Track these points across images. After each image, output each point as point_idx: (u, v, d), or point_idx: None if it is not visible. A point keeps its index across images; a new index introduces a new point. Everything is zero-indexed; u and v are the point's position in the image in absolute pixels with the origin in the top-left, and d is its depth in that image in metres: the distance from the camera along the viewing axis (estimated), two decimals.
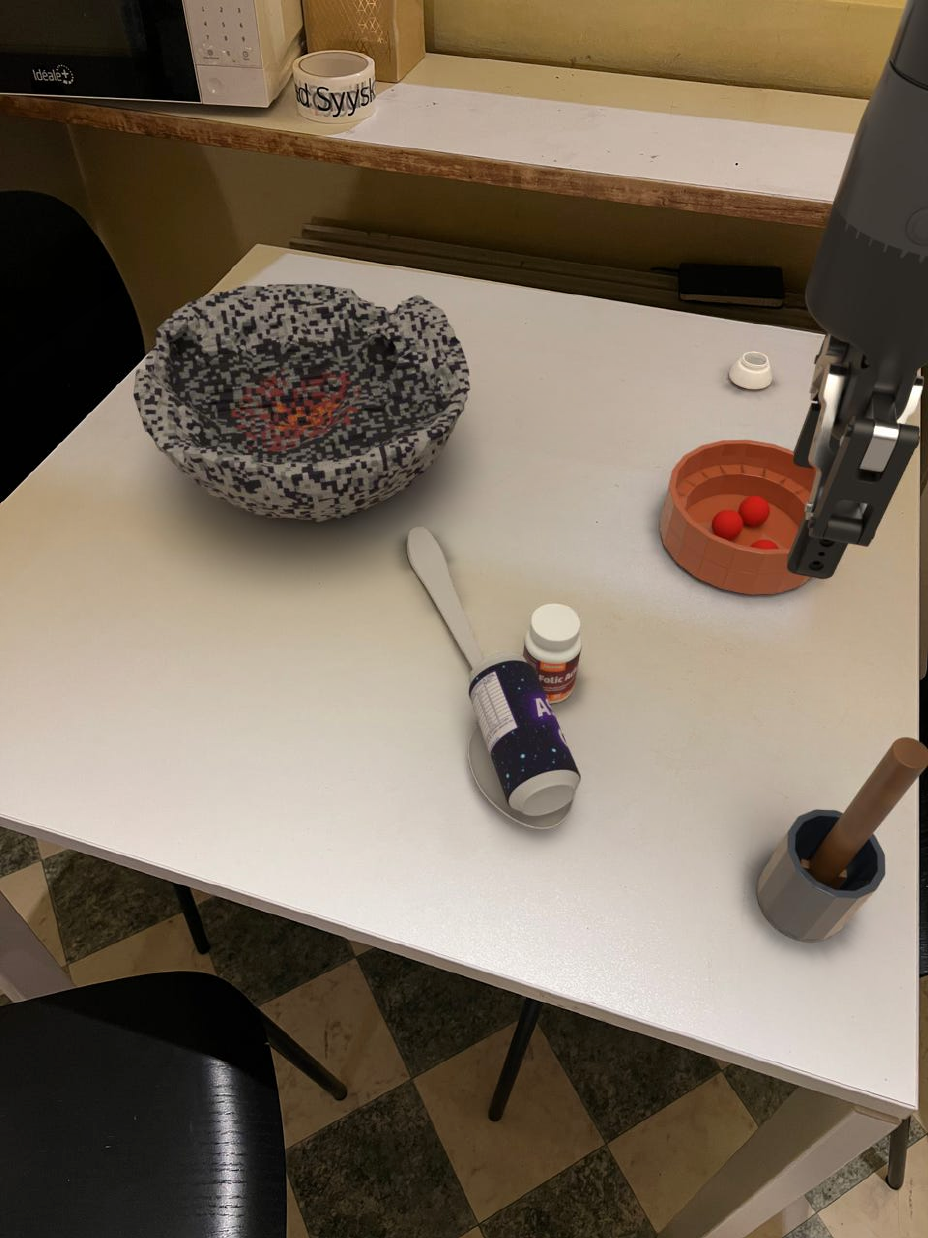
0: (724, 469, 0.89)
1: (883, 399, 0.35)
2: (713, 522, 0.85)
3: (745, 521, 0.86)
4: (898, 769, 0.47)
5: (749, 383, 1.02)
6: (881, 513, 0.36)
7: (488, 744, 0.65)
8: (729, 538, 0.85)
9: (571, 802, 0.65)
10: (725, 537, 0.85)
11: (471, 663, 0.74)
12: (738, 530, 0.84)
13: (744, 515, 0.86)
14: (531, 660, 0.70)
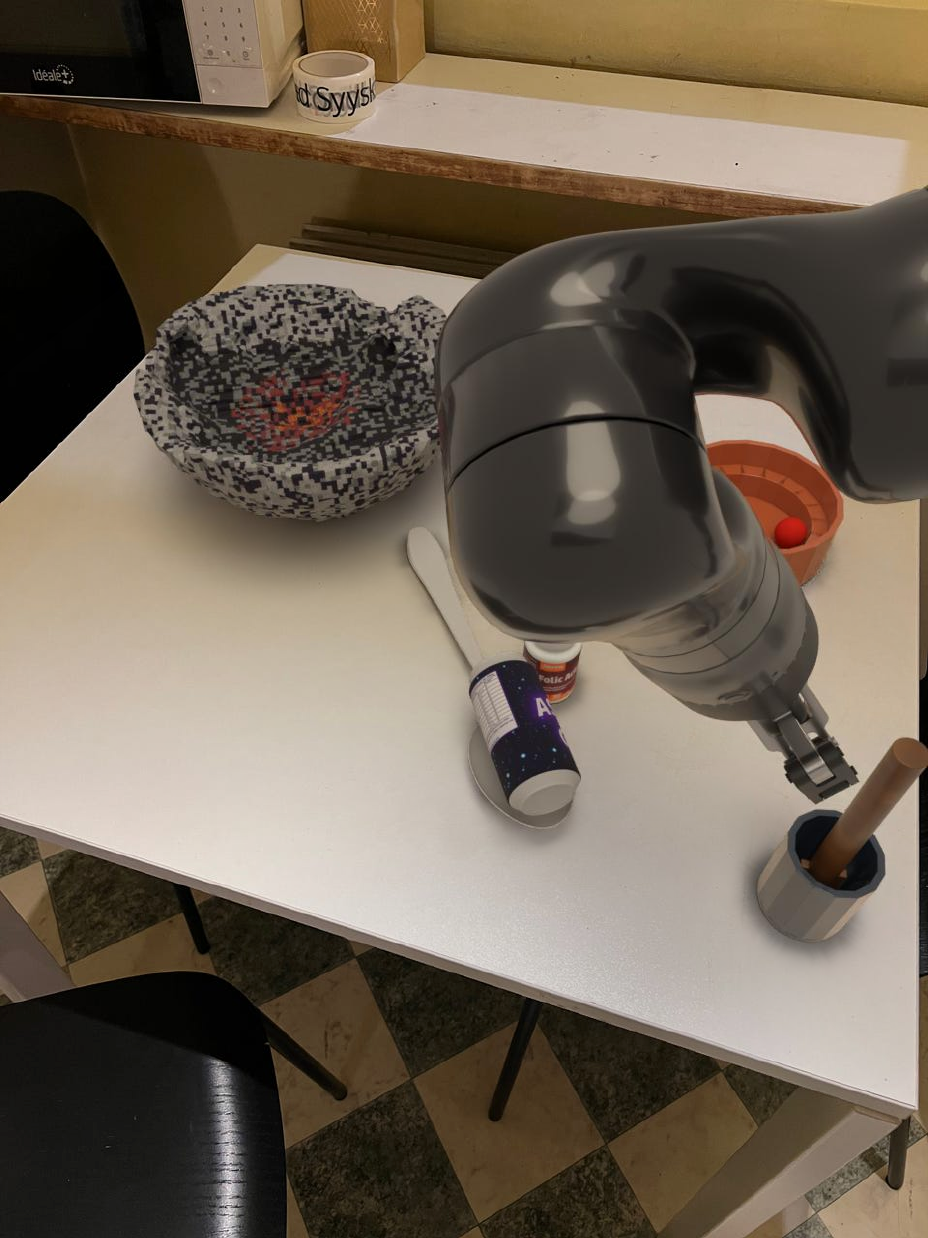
0: (724, 469, 0.89)
1: (789, 725, 0.40)
2: None
3: (781, 535, 0.84)
4: (898, 769, 0.47)
5: None
6: (853, 777, 0.41)
7: (488, 744, 0.65)
8: None
9: (571, 802, 0.65)
10: None
11: (471, 663, 0.74)
12: None
13: (784, 542, 0.84)
14: (531, 660, 0.70)
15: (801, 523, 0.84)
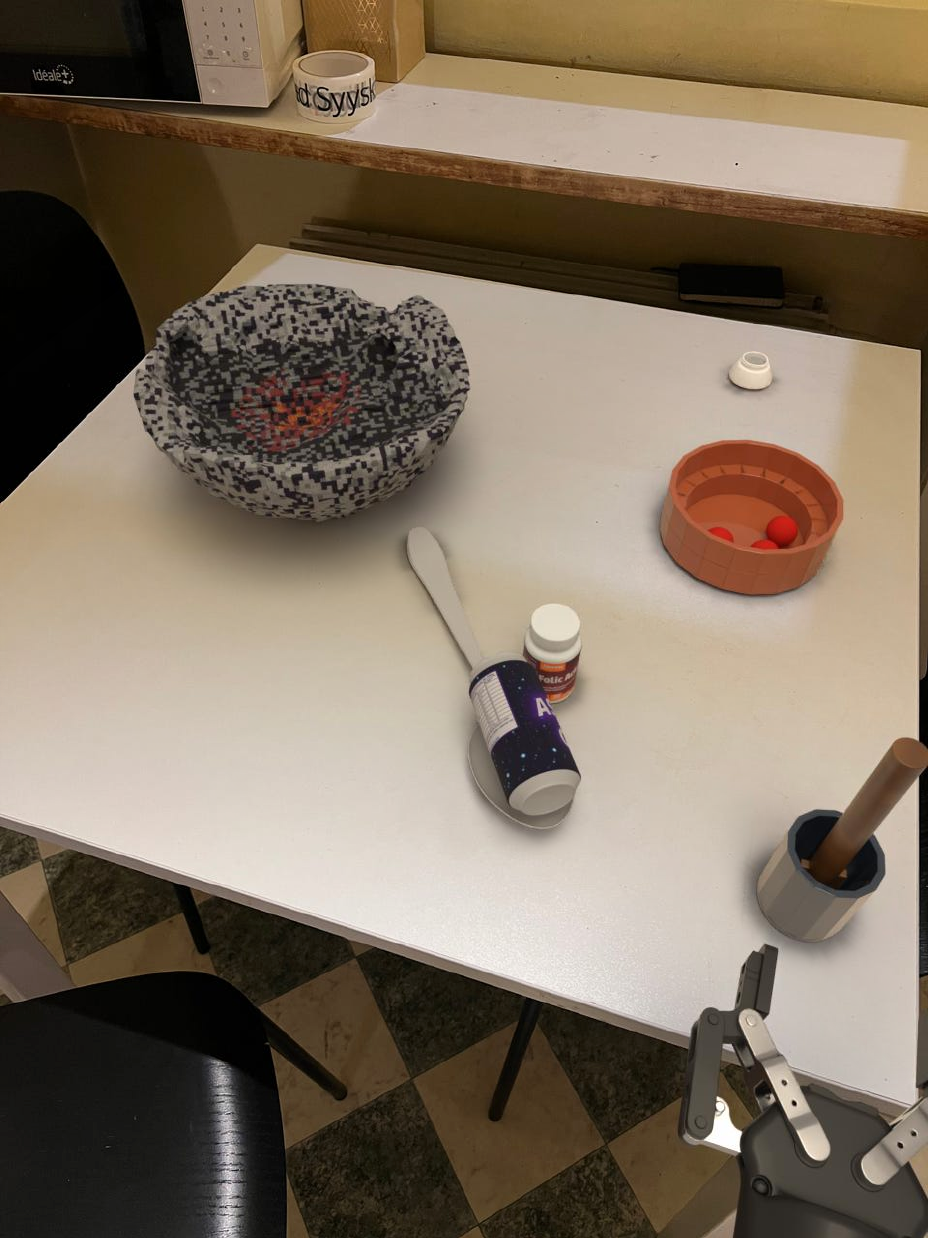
0: (724, 469, 0.89)
1: (925, 1233, 0.39)
2: None
3: (770, 537, 0.84)
4: (898, 769, 0.47)
5: (749, 383, 1.02)
6: None
7: (488, 744, 0.65)
8: None
9: (571, 802, 0.65)
10: None
11: (471, 663, 0.74)
12: None
13: (776, 542, 0.84)
14: (531, 660, 0.70)
15: (784, 519, 0.84)
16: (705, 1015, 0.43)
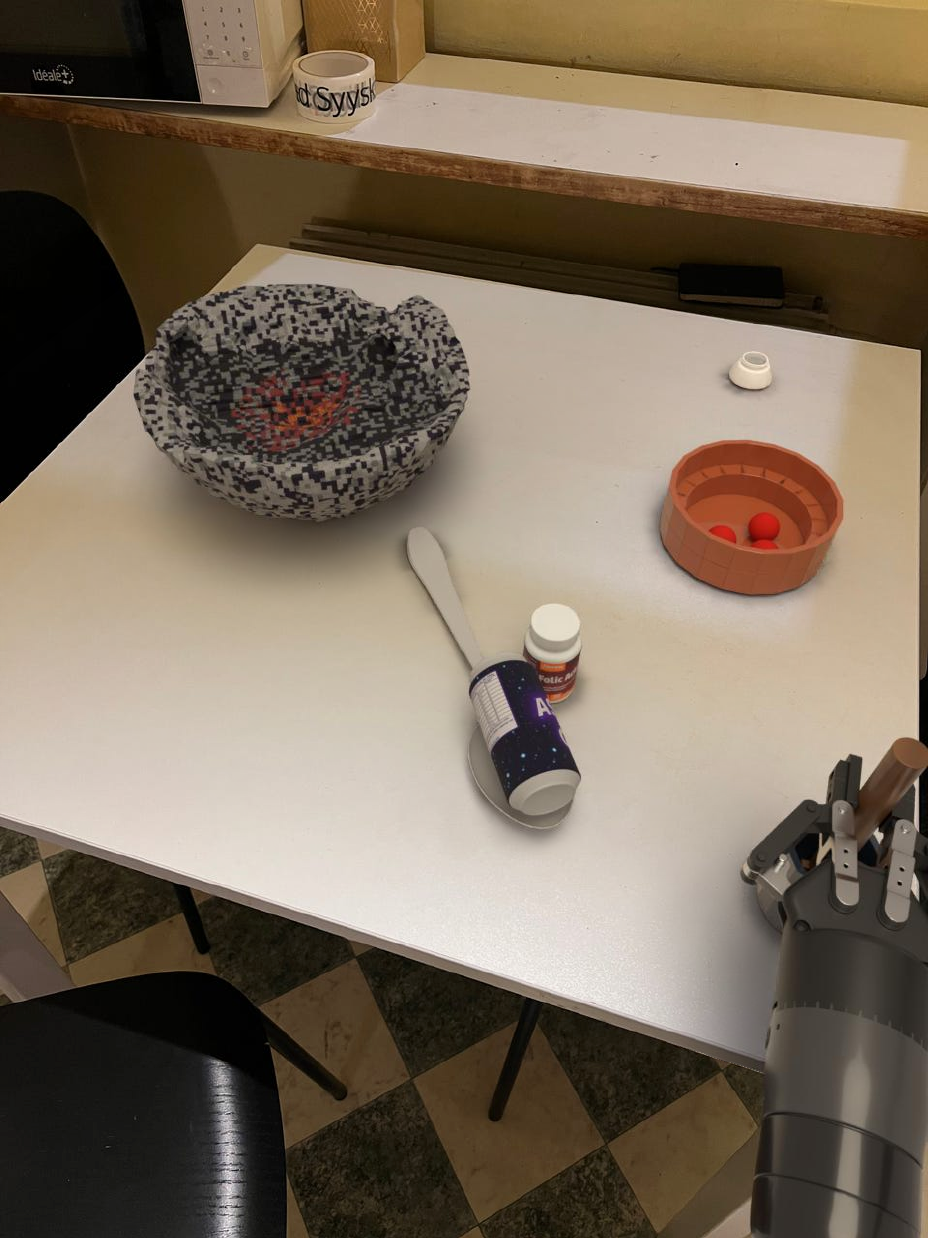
0: (724, 469, 0.89)
1: None
2: None
3: None
4: (899, 769, 0.47)
5: (749, 383, 1.02)
6: None
7: (488, 744, 0.65)
8: None
9: (571, 802, 0.65)
10: None
11: (471, 663, 0.74)
12: None
13: None
14: (531, 660, 0.70)
15: (750, 521, 0.85)
16: (804, 805, 0.51)
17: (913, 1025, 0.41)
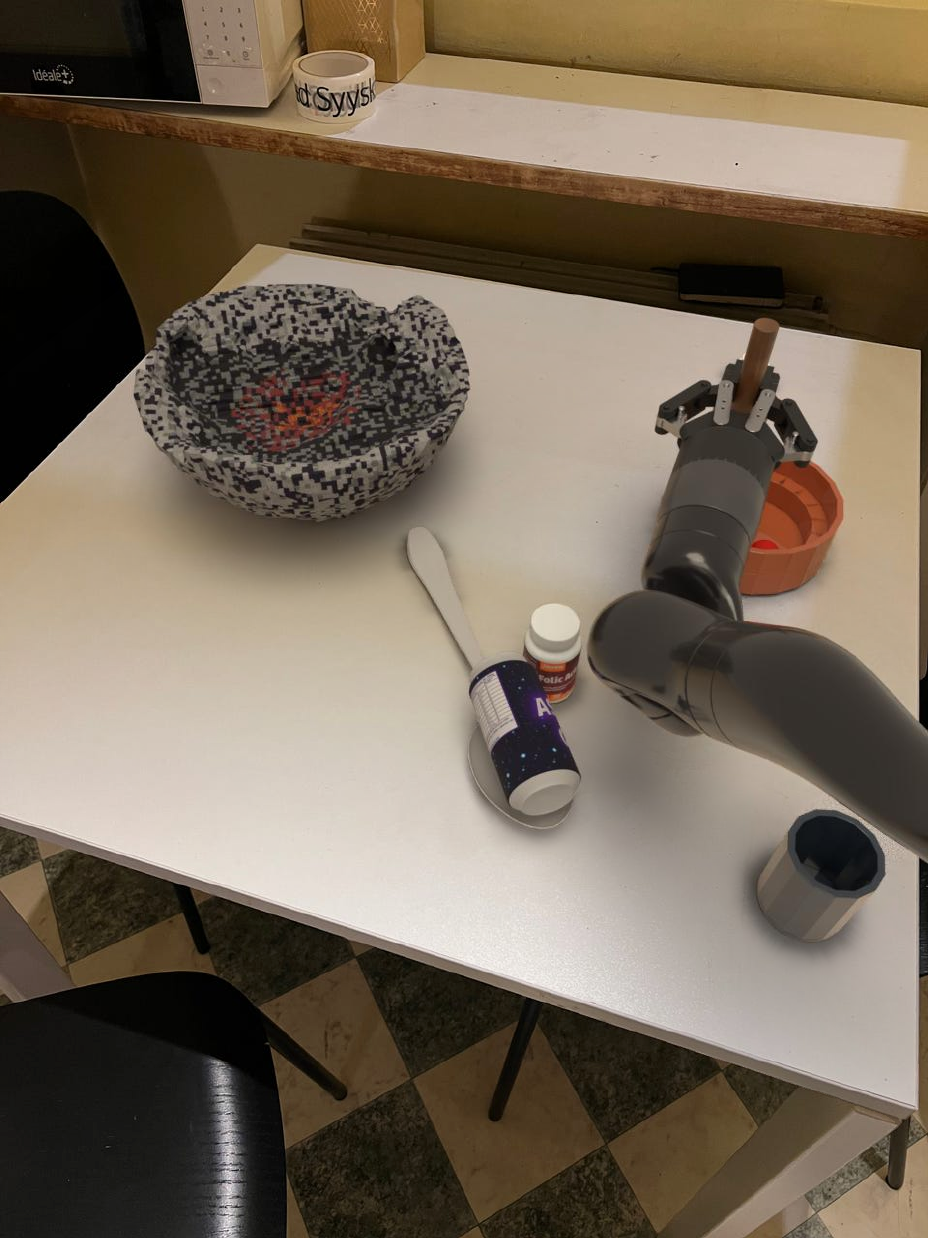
0: None
1: (783, 457, 0.69)
2: None
3: None
4: (758, 336, 0.70)
5: None
6: None
7: (488, 744, 0.65)
8: None
9: (571, 802, 0.65)
10: None
11: (471, 663, 0.74)
12: None
13: None
14: (531, 660, 0.70)
15: None
16: (699, 382, 0.74)
17: (750, 466, 0.64)
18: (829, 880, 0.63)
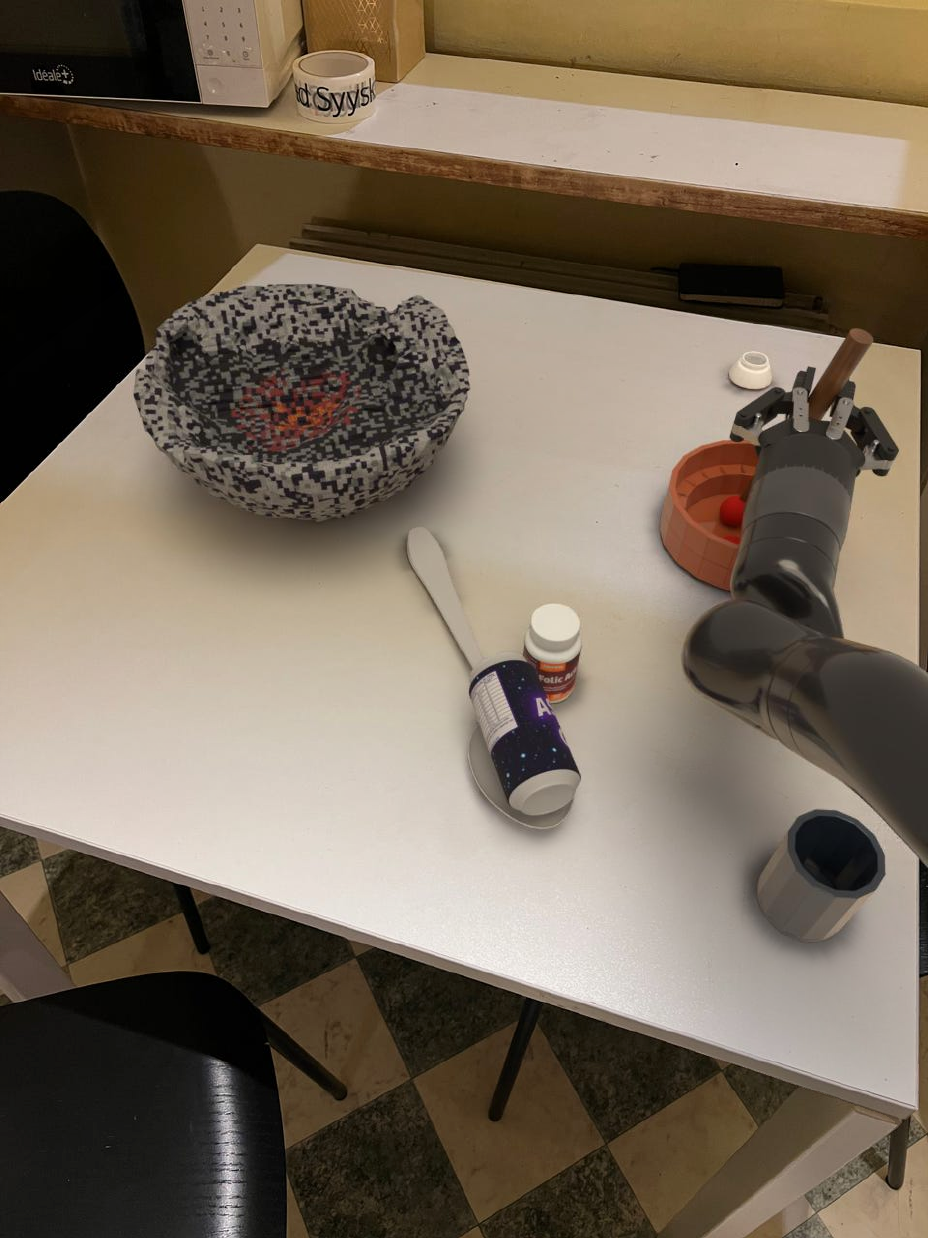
0: (724, 469, 0.89)
1: (863, 465, 0.69)
2: None
3: (743, 502, 0.85)
4: (849, 344, 0.70)
5: (749, 383, 1.02)
6: (881, 423, 0.71)
7: (488, 743, 0.65)
8: None
9: (571, 802, 0.65)
10: None
11: (471, 663, 0.74)
12: None
13: (737, 499, 0.86)
14: (531, 660, 0.70)
15: (734, 523, 0.86)
16: (773, 389, 0.74)
17: (838, 474, 0.64)
18: (829, 880, 0.63)
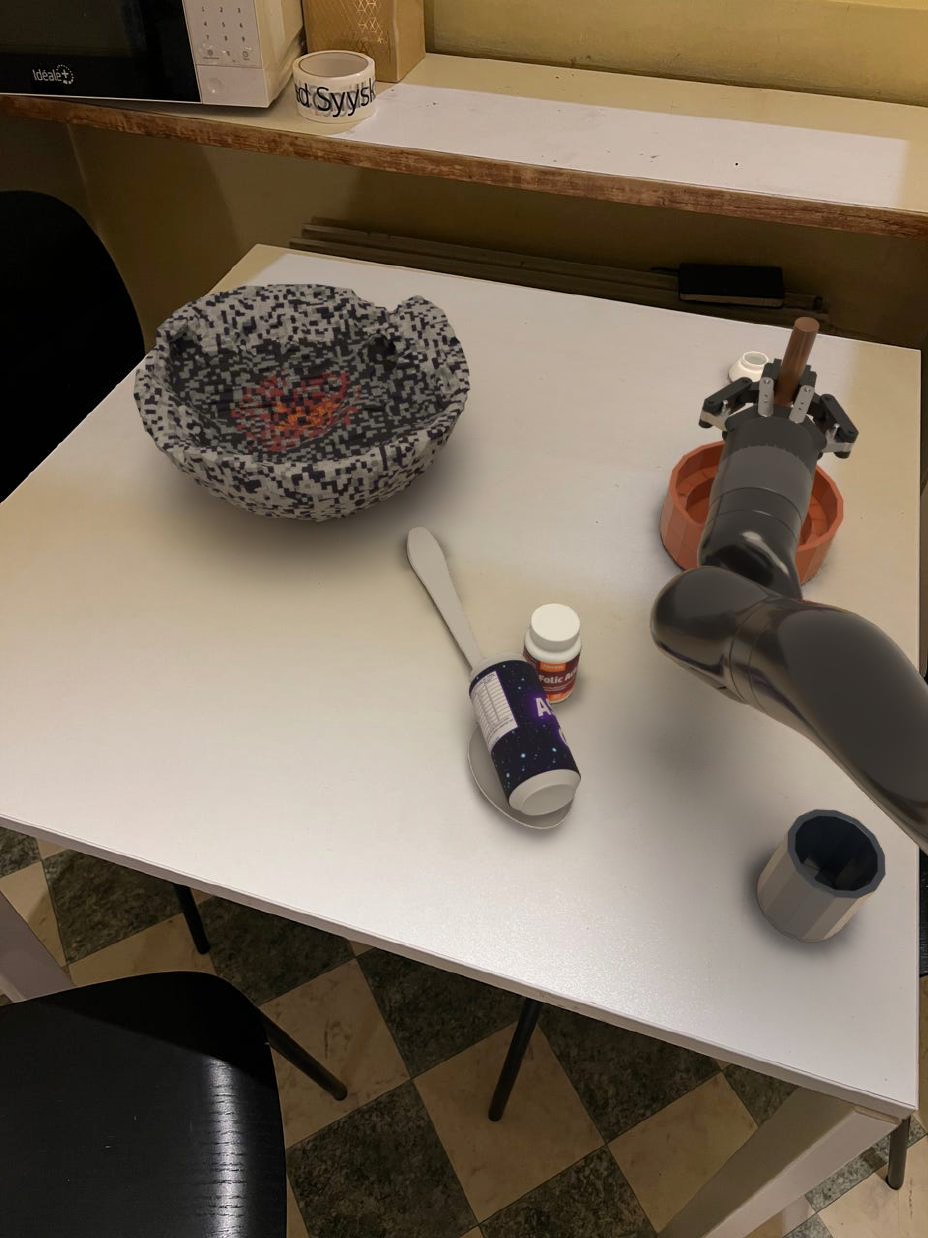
0: None
1: (826, 448, 0.72)
2: None
3: None
4: (796, 334, 0.73)
5: None
6: (841, 408, 0.74)
7: (488, 744, 0.65)
8: None
9: (571, 802, 0.65)
10: None
11: (471, 663, 0.74)
12: None
13: None
14: (531, 660, 0.70)
15: None
16: (741, 379, 0.77)
17: (799, 452, 0.67)
18: (829, 880, 0.63)
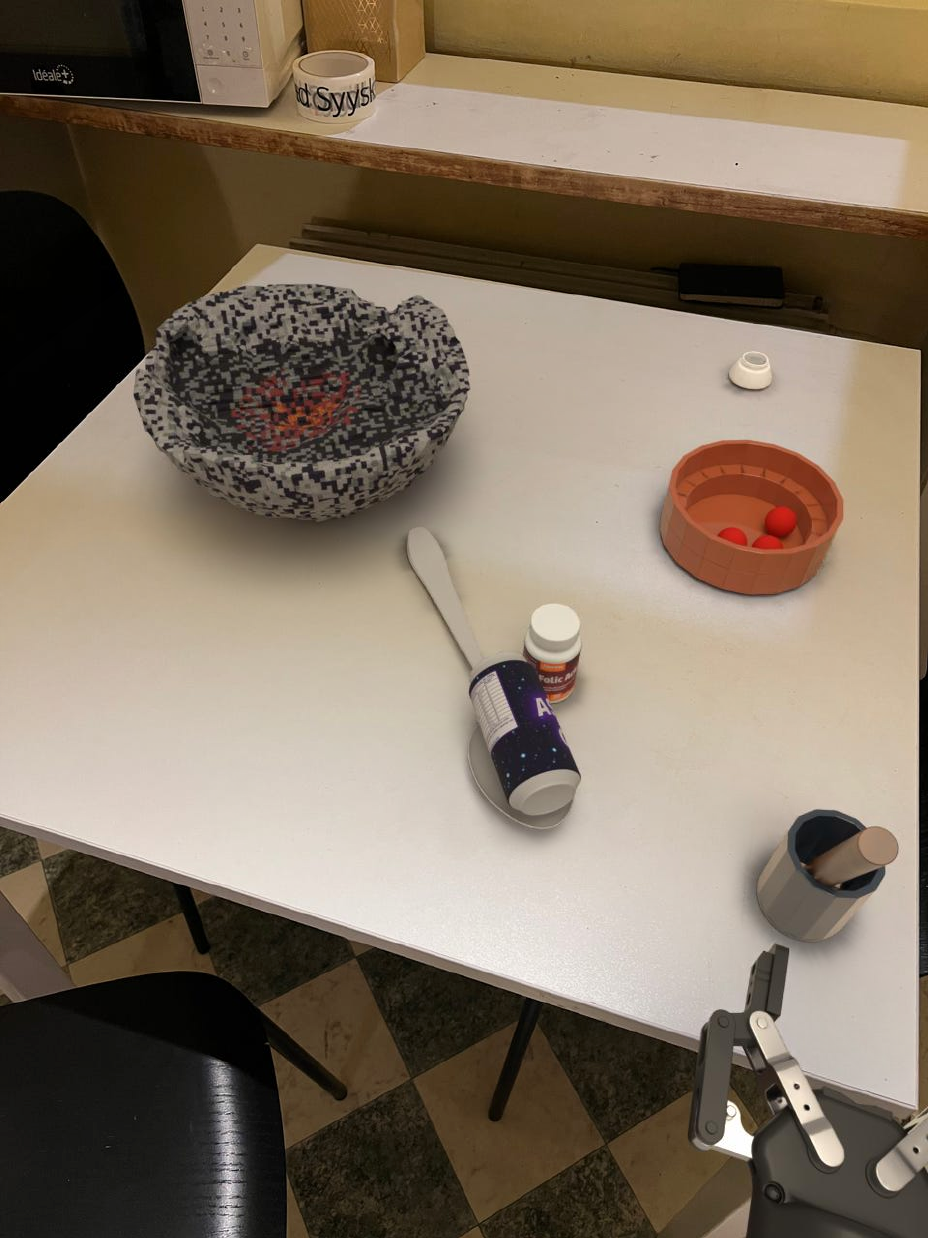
0: (724, 469, 0.89)
1: None
2: None
3: None
4: (860, 858, 0.45)
5: (749, 383, 1.02)
6: None
7: (488, 744, 0.65)
8: None
9: (571, 802, 0.65)
10: None
11: (471, 663, 0.74)
12: None
13: None
14: (531, 660, 0.70)
15: (794, 514, 0.85)
16: (715, 1017, 0.42)
17: None
18: None
